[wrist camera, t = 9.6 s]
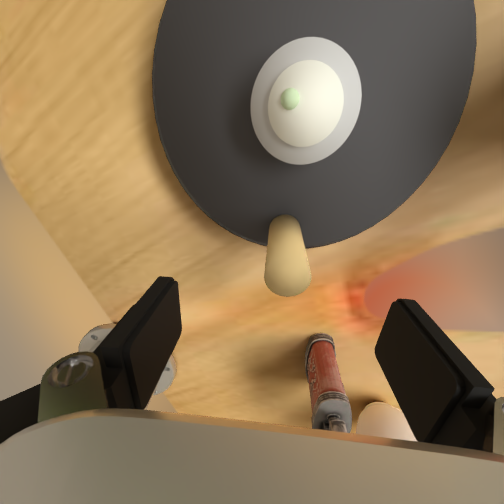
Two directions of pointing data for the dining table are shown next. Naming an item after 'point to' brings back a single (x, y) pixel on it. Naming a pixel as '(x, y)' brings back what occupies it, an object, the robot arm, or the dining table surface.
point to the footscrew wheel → (309, 112)
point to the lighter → (326, 386)
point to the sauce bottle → (384, 422)
